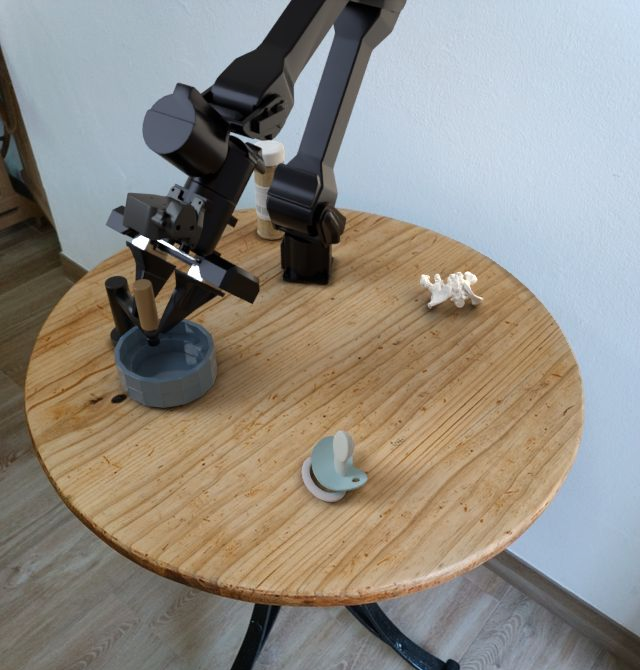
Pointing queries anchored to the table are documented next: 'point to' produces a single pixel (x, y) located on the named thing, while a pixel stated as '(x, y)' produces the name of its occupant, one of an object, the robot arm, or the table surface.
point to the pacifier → (333, 467)
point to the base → (114, 337)
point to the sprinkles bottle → (267, 186)
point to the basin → (167, 365)
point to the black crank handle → (124, 302)
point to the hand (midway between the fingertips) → (148, 324)
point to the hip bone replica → (451, 289)
